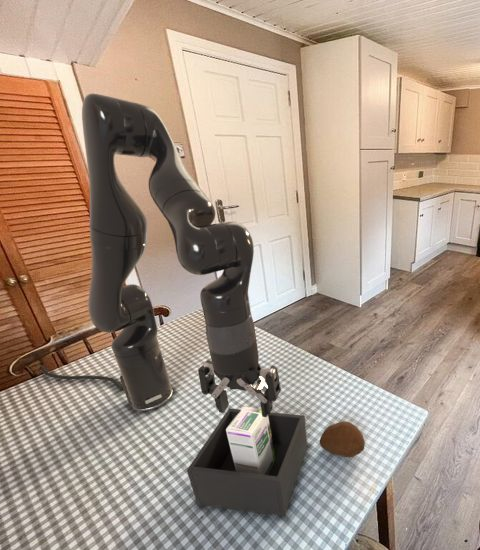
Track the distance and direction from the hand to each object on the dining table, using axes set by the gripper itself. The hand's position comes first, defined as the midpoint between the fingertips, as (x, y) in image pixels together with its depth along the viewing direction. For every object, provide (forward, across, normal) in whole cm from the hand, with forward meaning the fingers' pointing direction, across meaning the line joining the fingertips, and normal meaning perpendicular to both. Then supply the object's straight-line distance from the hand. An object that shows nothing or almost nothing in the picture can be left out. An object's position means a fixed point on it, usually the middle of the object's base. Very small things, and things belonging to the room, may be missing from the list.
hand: (245, 411), depth 58 cm
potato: (+18, -17, -8) cm, 26 cm away
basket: (+18, 0, 0) cm, 18 cm away
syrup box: (+17, 0, 0) cm, 17 cm away
